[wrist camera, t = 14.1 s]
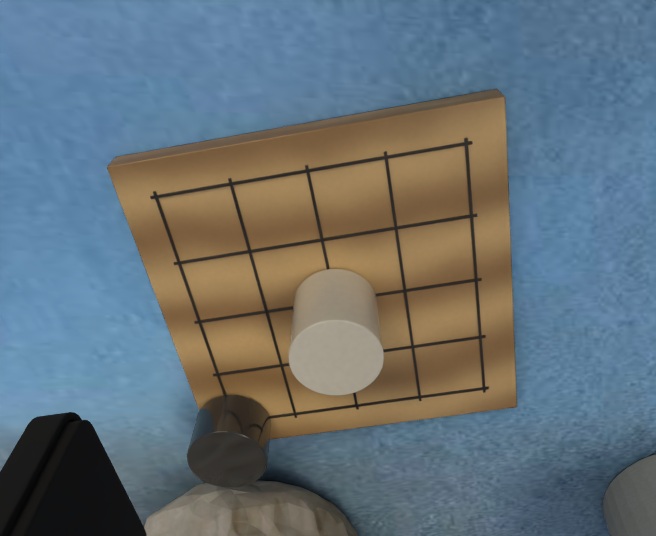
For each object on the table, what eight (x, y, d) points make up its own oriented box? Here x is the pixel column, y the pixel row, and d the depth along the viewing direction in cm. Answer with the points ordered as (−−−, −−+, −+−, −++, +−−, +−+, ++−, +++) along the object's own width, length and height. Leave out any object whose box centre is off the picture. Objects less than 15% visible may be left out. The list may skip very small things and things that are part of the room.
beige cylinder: (285, 275, 34) (278, 328, 30) (370, 261, 34) (376, 313, 30) (302, 343, 37) (298, 401, 32) (382, 332, 36) (390, 389, 32)
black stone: (187, 399, 39) (176, 437, 36) (262, 389, 38) (256, 426, 36) (208, 453, 41) (199, 492, 38) (278, 444, 41) (275, 483, 38)
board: (115, 156, 33) (105, 167, 31) (497, 88, 31) (506, 96, 29) (216, 431, 42) (212, 448, 41) (511, 391, 41) (517, 408, 39)
